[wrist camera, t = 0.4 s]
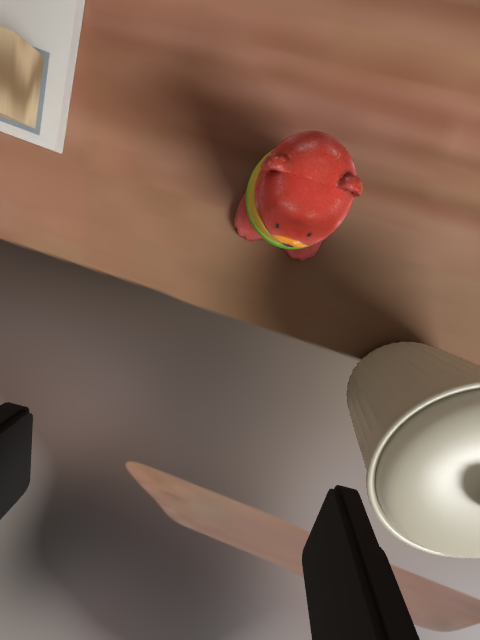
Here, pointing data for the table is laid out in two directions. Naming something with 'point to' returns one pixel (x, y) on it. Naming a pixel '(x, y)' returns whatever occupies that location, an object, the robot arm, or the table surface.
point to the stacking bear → (298, 194)
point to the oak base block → (19, 78)
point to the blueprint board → (47, 63)
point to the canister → (421, 444)
